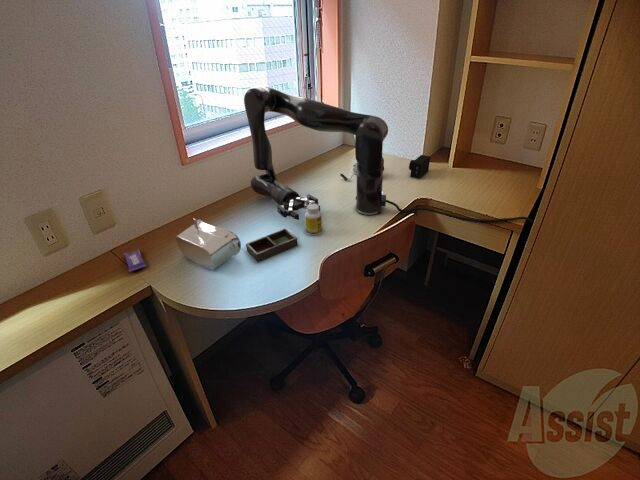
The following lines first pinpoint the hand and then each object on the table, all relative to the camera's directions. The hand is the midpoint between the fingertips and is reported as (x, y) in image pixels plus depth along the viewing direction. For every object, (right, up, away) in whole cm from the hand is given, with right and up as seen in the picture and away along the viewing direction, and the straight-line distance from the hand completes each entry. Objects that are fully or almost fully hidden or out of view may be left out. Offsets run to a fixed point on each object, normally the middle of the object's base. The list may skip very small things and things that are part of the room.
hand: (309, 213), depth 121 cm
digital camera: (+48, +20, +39) cm, 64 cm away
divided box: (-12, -12, -6) cm, 18 cm away
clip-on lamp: (+22, +19, +38) cm, 48 cm away
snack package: (-54, -16, -9) cm, 57 cm away
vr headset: (-30, -14, -8) cm, 34 cm away
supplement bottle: (+2, -6, +2) cm, 7 cm away
